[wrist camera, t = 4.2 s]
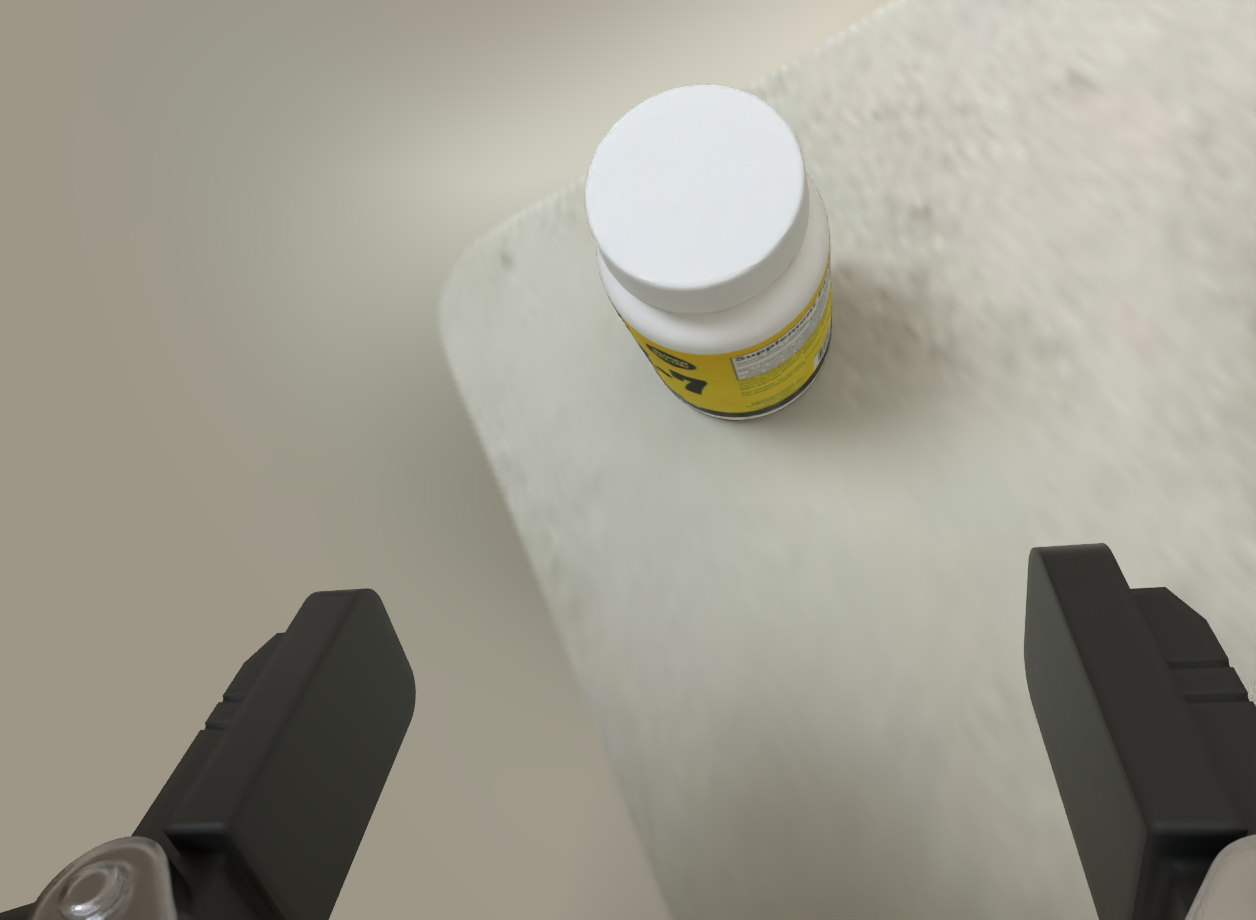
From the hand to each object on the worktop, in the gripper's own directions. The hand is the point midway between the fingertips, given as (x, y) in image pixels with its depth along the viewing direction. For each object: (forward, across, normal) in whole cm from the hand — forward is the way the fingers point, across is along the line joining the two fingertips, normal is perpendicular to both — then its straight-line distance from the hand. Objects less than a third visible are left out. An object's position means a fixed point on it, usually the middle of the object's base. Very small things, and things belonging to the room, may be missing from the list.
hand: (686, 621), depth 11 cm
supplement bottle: (+14, 0, +3) cm, 14 cm away
